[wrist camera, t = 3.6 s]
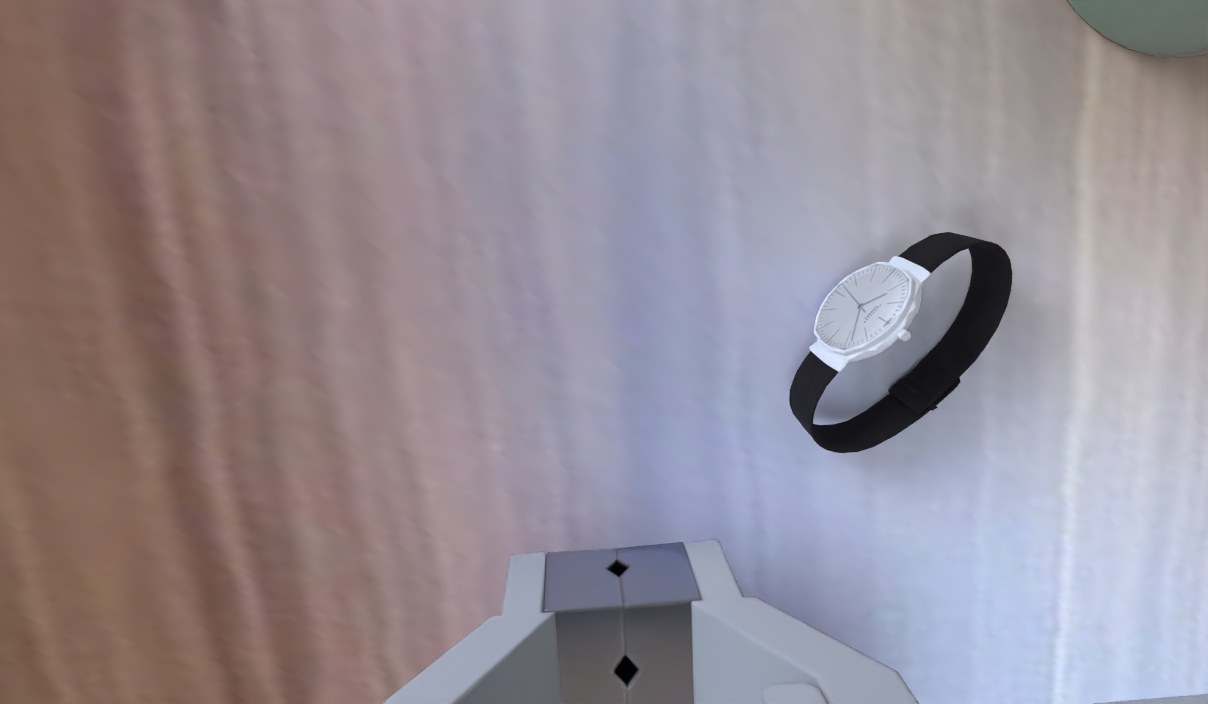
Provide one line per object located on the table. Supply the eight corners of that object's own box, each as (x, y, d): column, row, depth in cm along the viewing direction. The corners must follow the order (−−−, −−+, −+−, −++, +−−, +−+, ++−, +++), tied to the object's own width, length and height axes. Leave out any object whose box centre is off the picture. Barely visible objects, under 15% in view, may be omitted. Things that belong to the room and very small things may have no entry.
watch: (914, 193, 23) (979, 197, 19) (1013, 290, 24) (1092, 311, 20) (745, 378, 24) (777, 414, 20) (846, 463, 25) (893, 512, 21)
